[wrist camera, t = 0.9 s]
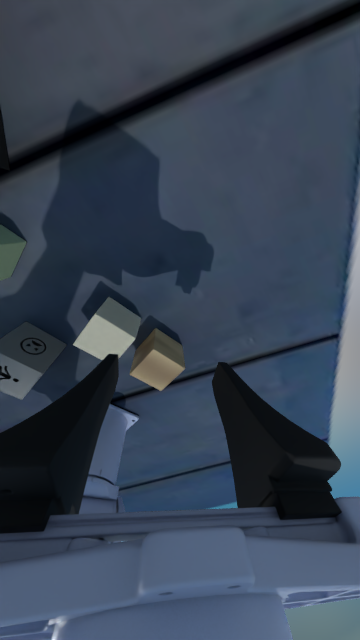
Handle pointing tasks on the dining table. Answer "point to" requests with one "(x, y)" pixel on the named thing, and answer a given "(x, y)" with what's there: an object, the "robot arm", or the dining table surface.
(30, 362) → the dice cube
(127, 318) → the cream block
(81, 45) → the dining table surface
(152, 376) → the maple block
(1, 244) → the sage block
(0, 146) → the digital camera
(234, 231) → the dining table surface
